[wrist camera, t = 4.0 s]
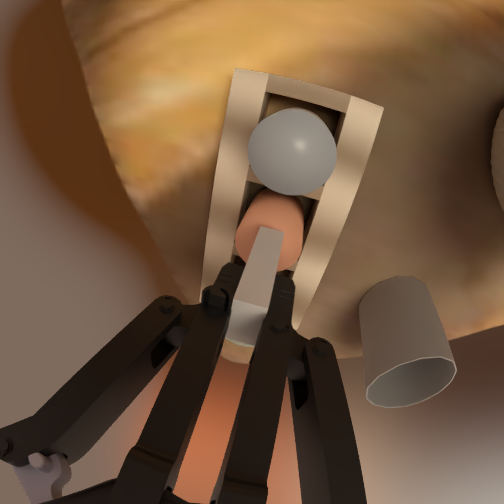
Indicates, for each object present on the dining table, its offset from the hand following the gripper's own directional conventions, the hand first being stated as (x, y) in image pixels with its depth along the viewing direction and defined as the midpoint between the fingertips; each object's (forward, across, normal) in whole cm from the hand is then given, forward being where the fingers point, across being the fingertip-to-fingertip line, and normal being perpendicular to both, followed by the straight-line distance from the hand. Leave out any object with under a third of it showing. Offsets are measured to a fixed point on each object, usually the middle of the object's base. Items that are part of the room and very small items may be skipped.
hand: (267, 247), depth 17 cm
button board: (+7, 0, 0) cm, 7 cm away
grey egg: (+4, 0, +6) cm, 7 cm away
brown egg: (+6, 0, 0) cm, 6 cm away
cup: (+7, +15, -7) cm, 18 cm away
